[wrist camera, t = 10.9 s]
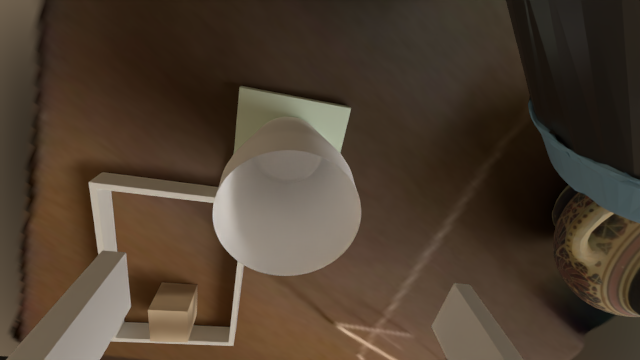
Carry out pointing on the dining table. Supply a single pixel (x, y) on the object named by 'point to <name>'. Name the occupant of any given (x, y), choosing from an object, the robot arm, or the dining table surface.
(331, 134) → the pad
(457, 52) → the dining table surface
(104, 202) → the white rectangular frame
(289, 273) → the cup
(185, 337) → the beech block
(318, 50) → the dining table surface
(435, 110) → the dining table surface
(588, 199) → the cream patterned round container
